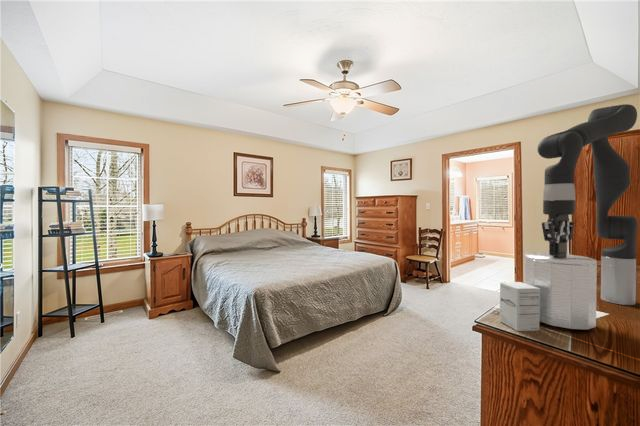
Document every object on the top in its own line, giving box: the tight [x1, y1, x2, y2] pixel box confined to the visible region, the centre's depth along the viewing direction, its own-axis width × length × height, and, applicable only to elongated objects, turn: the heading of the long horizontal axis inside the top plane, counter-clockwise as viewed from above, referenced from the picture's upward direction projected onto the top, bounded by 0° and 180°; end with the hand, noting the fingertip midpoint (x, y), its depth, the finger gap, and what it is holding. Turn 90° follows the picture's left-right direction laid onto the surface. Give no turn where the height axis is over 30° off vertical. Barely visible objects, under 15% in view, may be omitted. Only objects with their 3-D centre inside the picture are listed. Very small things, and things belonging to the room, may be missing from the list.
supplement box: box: [499, 281, 540, 332], centre depth 85 cm, size 7×7×13 cm
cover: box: [523, 242, 598, 330], centre depth 87 cm, size 17×17×24 cm
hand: (558, 254), depth 87 cm, fingers closed on cover, 4 cm apart
